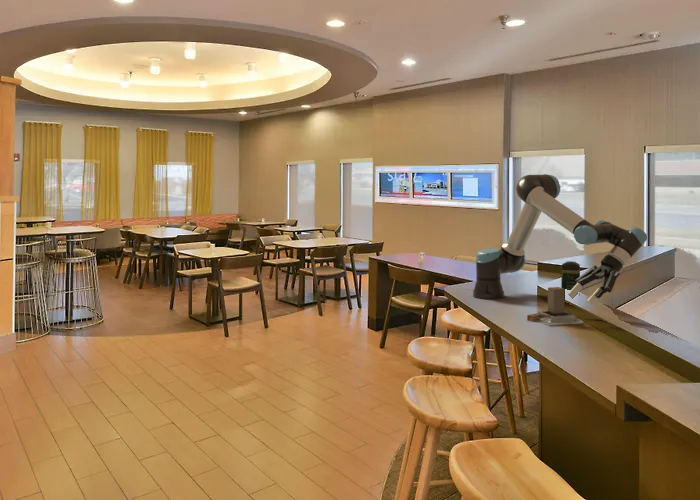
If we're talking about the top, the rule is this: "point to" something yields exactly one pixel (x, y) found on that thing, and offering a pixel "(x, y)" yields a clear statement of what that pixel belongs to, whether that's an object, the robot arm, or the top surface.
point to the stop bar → (556, 301)
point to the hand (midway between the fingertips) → (579, 299)
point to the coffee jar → (570, 274)
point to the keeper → (557, 319)
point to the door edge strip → (533, 317)
